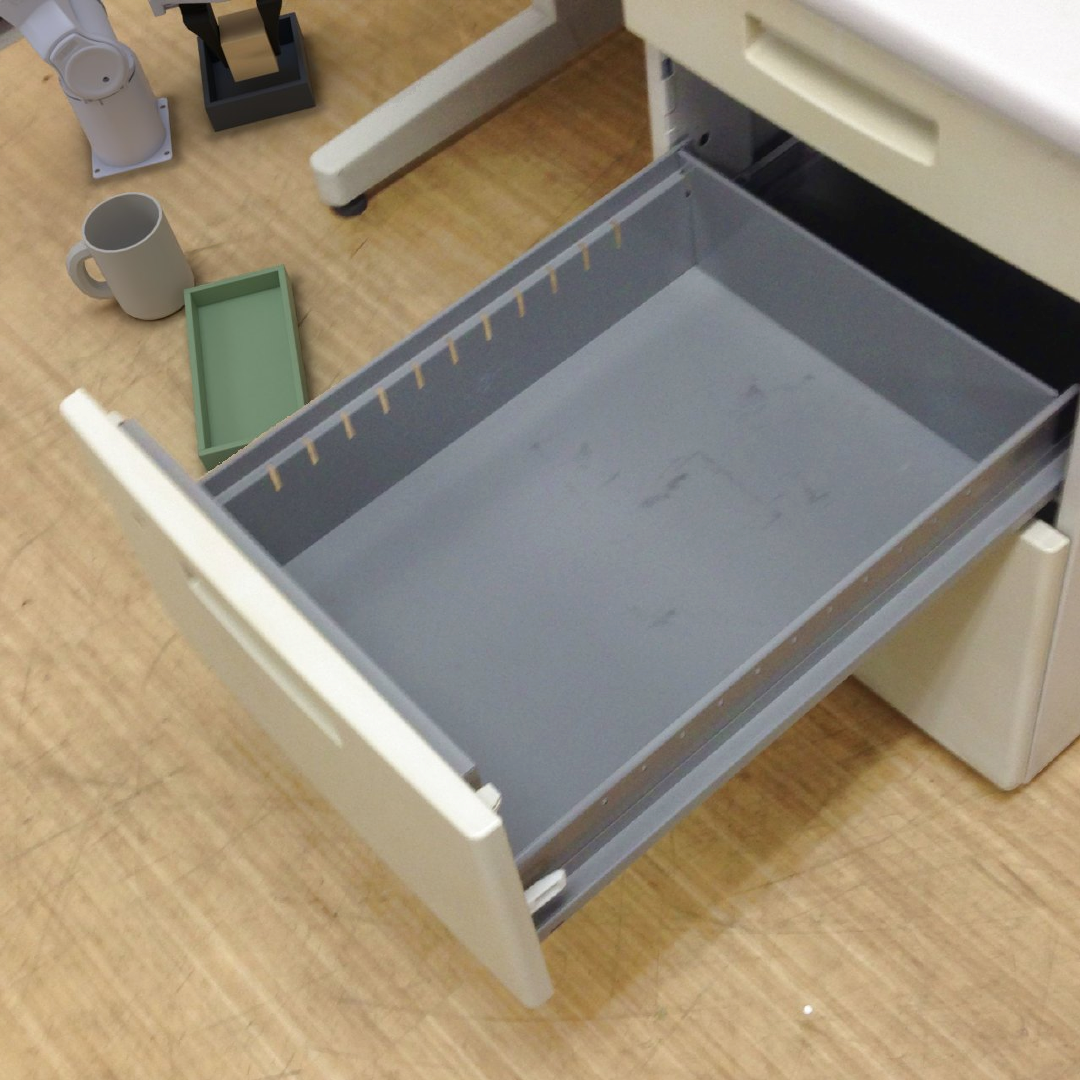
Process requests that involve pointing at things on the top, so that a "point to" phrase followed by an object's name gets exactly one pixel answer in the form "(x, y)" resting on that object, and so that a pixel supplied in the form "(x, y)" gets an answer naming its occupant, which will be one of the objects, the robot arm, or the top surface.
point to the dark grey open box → (258, 83)
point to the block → (246, 44)
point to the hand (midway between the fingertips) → (252, 55)
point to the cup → (132, 257)
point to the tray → (243, 359)
